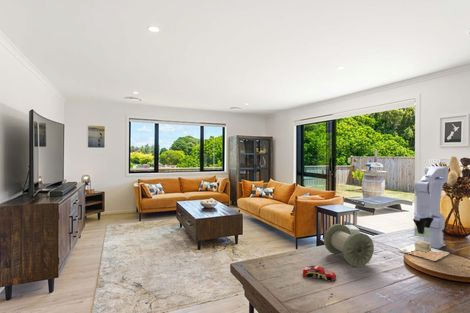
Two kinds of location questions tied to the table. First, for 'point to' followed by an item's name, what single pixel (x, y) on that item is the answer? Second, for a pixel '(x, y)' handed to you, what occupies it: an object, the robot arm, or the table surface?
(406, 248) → the baseplate
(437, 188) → the robot arm
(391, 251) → the table surface
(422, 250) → the maple block
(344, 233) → the spool
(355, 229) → the ink box
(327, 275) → the race car
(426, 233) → the sage block
